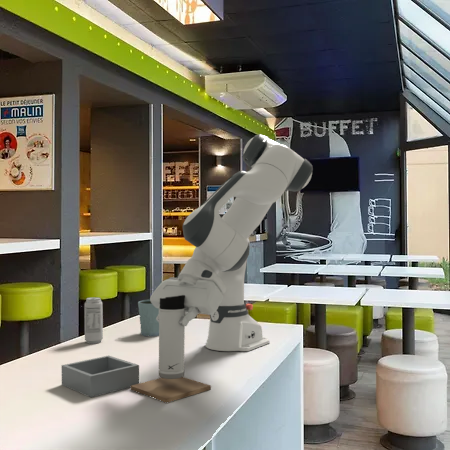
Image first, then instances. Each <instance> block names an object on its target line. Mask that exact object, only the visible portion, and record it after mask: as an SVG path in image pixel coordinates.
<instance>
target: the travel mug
mask: <svg viewBox="0 0 450 450" xmlns="http://www.w3.org/2000/svg"><path fill="white" fill-rule="evenodd" d="M184 302H185V295H180V296H173V297H165V298H160V308H159V310H160V311H159V336H158V338H159V339H158V376H159V377H158V378H164V379H177V378H181V377H184V376H185V339H186V338H185V337H186V336H185V328H186V326H181V325H180V324H179V320H180V318H181V316H183V317H184V316H185V315H186V314H185V313H186V312H185V311H184V310H185V306H184Z"/></svg>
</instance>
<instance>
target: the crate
mask: <svg viewBox="0 0 450 450" xmlns="http://www.w3.org/2000/svg"><path fill="white" fill-rule="evenodd" d="M139 383H140V365H139V364H136V363H133V362H131V361H129V360H128V361H127V360H123V359H121V358H118V357H114V356H112V355H105V356H101V357H95V358H90V359H85V360H80V361H75V362H71V363H67V364H62V365H61V385H62V386H63V387H65V388H69V389H71V390H73V391H75V392H78V393H80V394H82V395H85V396H87V397H89V398H93V397H98V396H102V395H105V394H109V393H112V392H116V391H120V390H123V389H127V388H131V386H132V385H135V384H139Z"/></svg>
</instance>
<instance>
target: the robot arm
mask: <svg viewBox="0 0 450 450" xmlns="http://www.w3.org/2000/svg"><path fill="white" fill-rule="evenodd" d="M242 152H243V153H242V154H243V155H242V160H243V162H244V163H245V164H246V166H248V167H250V168H251V169H249V170H248V171H245V170H239V171H236V173H234V174H233V175H232V176H230V177H229V178H228V179H227V180H225V181H224V182H223V183H222V184H221V185H220V186H219V187H218V188H217V189H216V190H215V191H214V192H213V193H212V194H211V195H210V196H209V197H208V198H207V199H206V200H205V201H204V202H203V203H202V204H201V205H200V206H199V207H198V208H196V209H194V210H193V211H192V212H191V213H189V215H187V216H186V218H185V219H184V222H183V223H182V231H183V233H182V234H183V237H184V240H185V241H186V242H188V243H190V244H191V245H193V246H194V247H195V248H194V249H193V253H192V256H191V257H190V258H189V259H188V260H187V261H186V263H185V265H184V266H183V268H182V269H181V271H180V272H179V274H178V276H177V277H171V276H170V277H169V278H166V279H165V280H163V281H161V282H160V284H159V285H158V286H157V287H156V288H155V290H154V291H153V292H152V294H151V295H150V298H149V300H150V301H151V303H152V304H153V305H154V306H155V307H156V308H160V298H165V297H173V296H180V295H185V302H184V306H185V310H184V311H185V313H186V314H185V316H184V317H183V316H181V318H180V320H179V324H180V325H181V326H185V327H187V326H188V325H189V322H191V321H192V320H194V319H195V318H196V317H197V316H198V314H201V315H206V316H207V315H208V316H209V317H210V318H209V322H208V323H209V324H208V332H207V333H208V334H207V339H206V343H205V348H207V349H209V350H212V351H218V352H219V351H220V352H249V351H252V350H254V349H258V348H259V347H262V346H265V345H268V344H270V339H268V338H266V337H263V336H264V335H263V329H262V325H261V324H260V323H259V322H258V321H257V320H255V319H254V318H253V317H252V316H250V314H249V312H248V310H249V311H252V310H253V309H254V305H253V304H252V303H245V276H246V268H247V261H248V258H249V256H250V249H251V248H250V242H251V241H250V239H249V237H251V235H252V233H254V231H255V230H256V229H257V228H258V227H259V226H260V224H261V223H262V221H263V220H264V218H265V217H266V214H267V213H268V212H269V210H270V208H271V207H272V205H273V204H275V203H276V202H278V200H279V199H280V198H281V197H282V196H283V194H284V192H288V191H289V192H300V191H301V190H302V189H304V188H305V187H306V186H307V185H308V184H309V182H310V181H311V179H312V175H313V171H314V168H313V165H312V163H311V162H310V161H309V160H308V159H306V158H303V157H302V156H301V155H299V154H298V153H297V152H295V150H293V149H291V147H289V146H287V145H285V144H281V143H280V142H277V141H275V140H273V139H271V138H269V136H266V135H263V134H261V133H259V134H257V135H256V134H255V135H254V136H253V137H252V138H250V139H249V140H248V141H247V142H246V144H245V146H244V148H243V151H242ZM232 198H235V199H234V200H233V201H232V204H231V205H230V206H229V208H228V209H227V211H226V212H225V213H224V214H223V216H221V215H220V210H222V209H223V207H224V206H225V205H226V204H227V203H228V202H229V201H230V200H231V199H232ZM159 311H160V310H159ZM156 320H157V321H158V322H159V314H158V316H157V317H156Z"/></svg>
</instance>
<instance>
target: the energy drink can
mask: <svg viewBox="0 0 450 450" xmlns="http://www.w3.org/2000/svg"><path fill="white" fill-rule="evenodd" d="M85 300H86V301H84V341H85V343H87V344H99V343H101V342H102V340H103V339H104V336H103V334H104V333H103V332H104V331H103V330H104V329H103V326H104V325H103V324H104V323H103V322H104V321H103V320H104V319H103V316H104V315H103V313H104V312H103V301H102V300H101V297H97V296H96V297H95V296H93V297H87V298H85Z"/></svg>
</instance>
